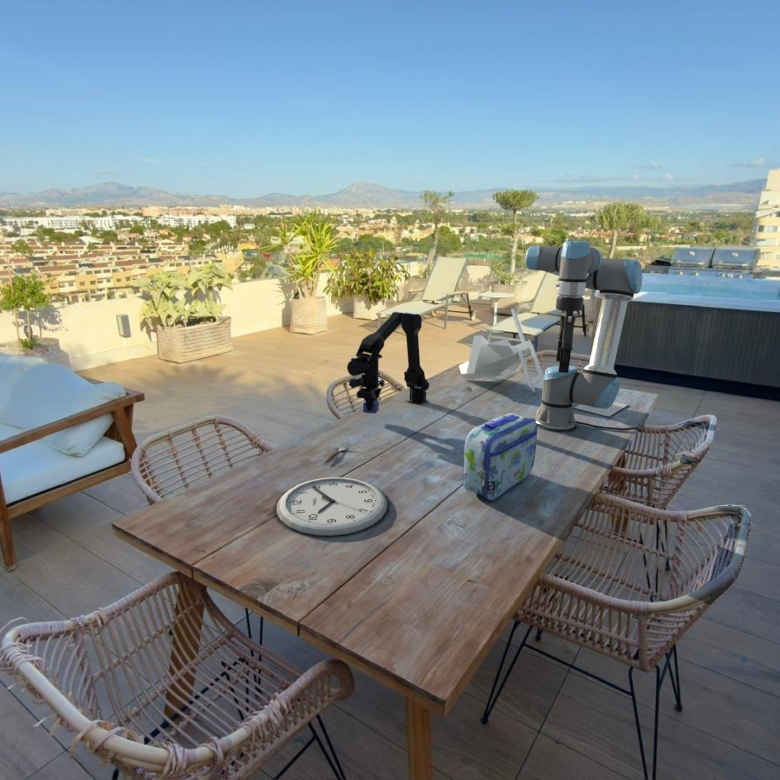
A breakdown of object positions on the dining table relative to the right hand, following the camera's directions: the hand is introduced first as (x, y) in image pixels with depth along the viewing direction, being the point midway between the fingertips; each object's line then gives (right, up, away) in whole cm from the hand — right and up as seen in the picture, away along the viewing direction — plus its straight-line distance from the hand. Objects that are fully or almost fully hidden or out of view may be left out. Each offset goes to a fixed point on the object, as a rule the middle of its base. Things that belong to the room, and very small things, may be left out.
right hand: (561, 366), depth 158 cm
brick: (-60, -15, +48) cm, 78 cm away
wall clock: (-68, -39, -16) cm, 80 cm away
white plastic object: (0, -5, +94) cm, 94 cm away
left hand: (-60, -14, +48) cm, 78 cm away
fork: (-70, -29, +16) cm, 77 cm away
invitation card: (+39, -14, +68) cm, 80 cm away
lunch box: (-20, -36, -4) cm, 41 cm away
